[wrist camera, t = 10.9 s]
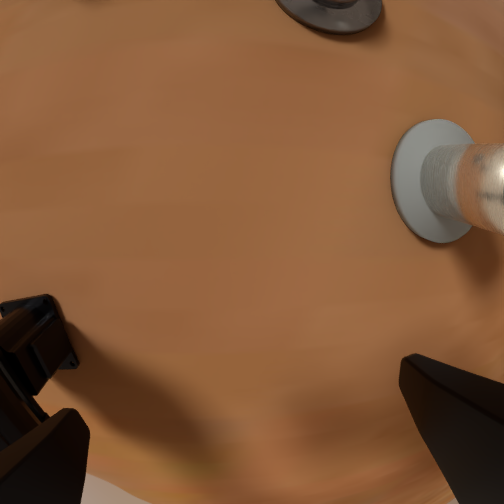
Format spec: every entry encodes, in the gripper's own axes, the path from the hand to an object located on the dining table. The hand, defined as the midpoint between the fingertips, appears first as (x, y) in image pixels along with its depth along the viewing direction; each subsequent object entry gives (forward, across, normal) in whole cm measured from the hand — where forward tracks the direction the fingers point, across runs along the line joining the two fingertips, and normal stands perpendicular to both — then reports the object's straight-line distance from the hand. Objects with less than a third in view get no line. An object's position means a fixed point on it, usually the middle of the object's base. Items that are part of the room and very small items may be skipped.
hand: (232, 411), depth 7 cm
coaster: (+13, -16, -3) cm, 21 cm away
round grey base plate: (+13, -10, -18) cm, 24 cm away
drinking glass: (+12, -16, -3) cm, 20 cm away
